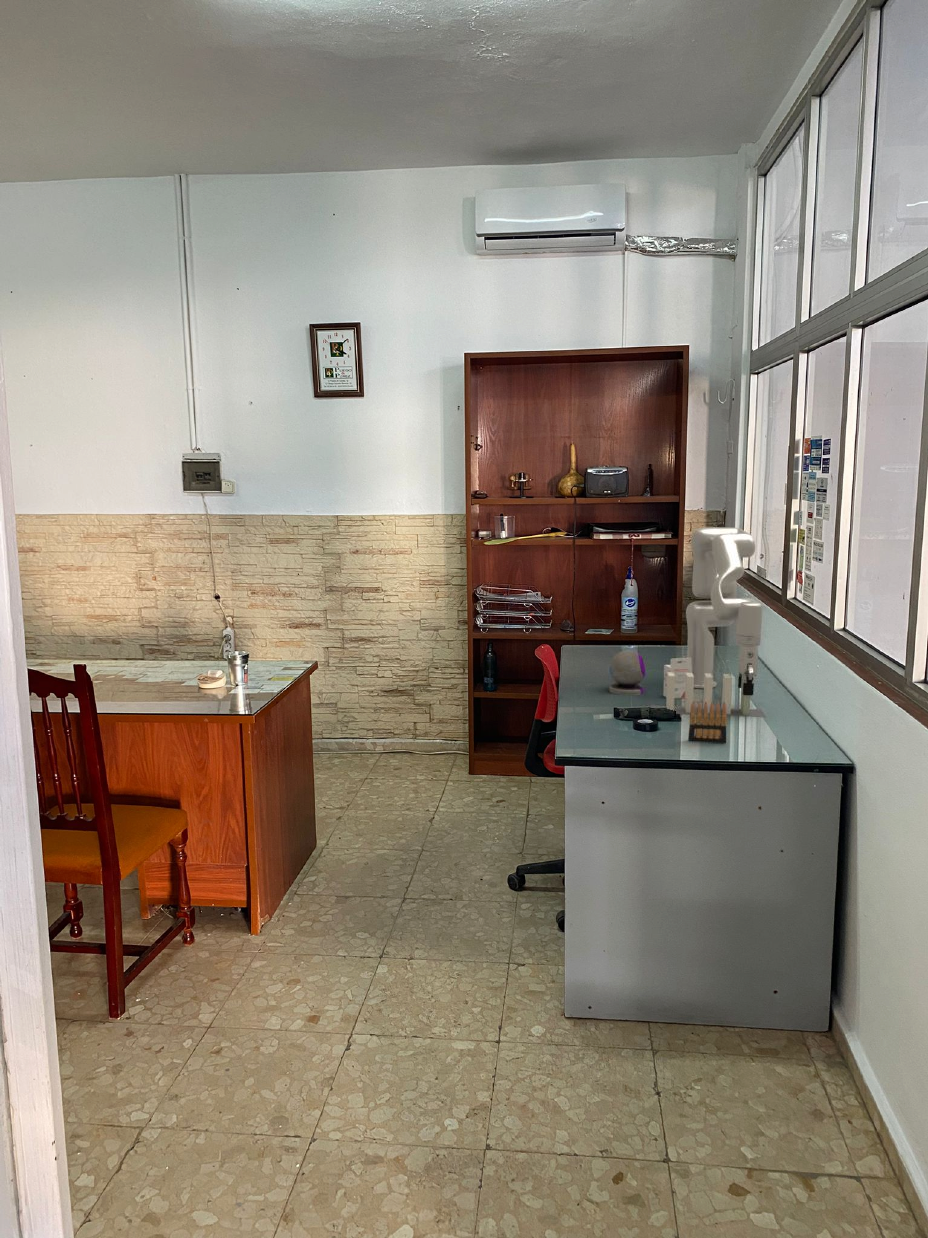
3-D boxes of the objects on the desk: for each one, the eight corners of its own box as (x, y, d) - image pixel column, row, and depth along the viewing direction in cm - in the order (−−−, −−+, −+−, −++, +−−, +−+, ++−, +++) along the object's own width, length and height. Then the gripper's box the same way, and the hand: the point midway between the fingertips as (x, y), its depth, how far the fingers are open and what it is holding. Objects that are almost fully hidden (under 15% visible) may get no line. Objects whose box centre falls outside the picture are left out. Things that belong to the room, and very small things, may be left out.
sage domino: (746, 710, 300) (748, 674, 298) (749, 714, 294) (751, 678, 292) (740, 710, 300) (741, 674, 298) (743, 714, 294) (744, 678, 292)
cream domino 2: (686, 712, 297) (687, 676, 295) (684, 708, 302) (685, 672, 301) (692, 712, 296) (694, 676, 294) (690, 708, 302) (692, 673, 300)
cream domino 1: (667, 711, 297) (668, 676, 296) (666, 707, 303) (667, 672, 301) (673, 712, 297) (675, 676, 295) (672, 707, 303) (673, 672, 301)
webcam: (644, 696, 322) (646, 654, 320) (608, 694, 324) (609, 653, 322) (645, 688, 335) (646, 648, 332) (609, 686, 337) (611, 646, 335)
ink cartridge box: (684, 695, 323) (685, 655, 321) (691, 698, 318) (693, 657, 316) (662, 697, 321) (663, 656, 318) (669, 700, 316) (670, 658, 314)
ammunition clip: (725, 741, 266) (727, 701, 264) (726, 743, 264) (728, 703, 262) (688, 739, 268) (689, 700, 266) (688, 741, 266) (690, 701, 264)
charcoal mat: (650, 707, 306) (650, 705, 306) (761, 711, 301) (761, 709, 301) (652, 714, 296) (652, 712, 296) (766, 718, 291) (766, 717, 291)
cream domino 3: (705, 713, 296) (706, 677, 294) (703, 708, 302) (704, 673, 300) (711, 713, 295) (713, 677, 294) (709, 709, 301) (710, 673, 300)
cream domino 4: (724, 714, 295) (725, 677, 293) (721, 709, 301) (723, 673, 299) (730, 714, 295) (732, 678, 293) (727, 709, 300) (729, 674, 299)
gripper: (765, 645, 284) (762, 698, 287) (755, 635, 301) (752, 685, 304) (740, 644, 285) (737, 697, 288) (732, 634, 302) (729, 685, 305)
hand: (745, 691), depth 296 cm, fingers open, 9 cm apart
